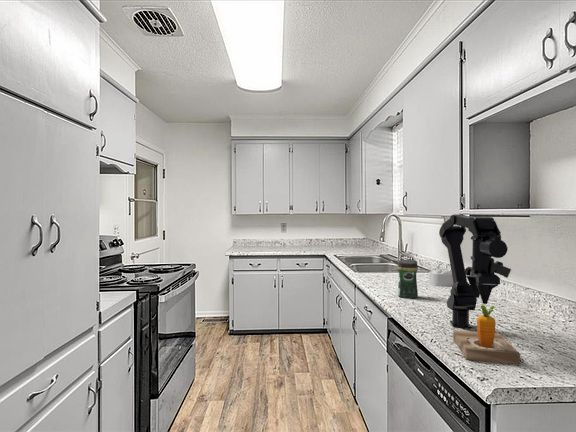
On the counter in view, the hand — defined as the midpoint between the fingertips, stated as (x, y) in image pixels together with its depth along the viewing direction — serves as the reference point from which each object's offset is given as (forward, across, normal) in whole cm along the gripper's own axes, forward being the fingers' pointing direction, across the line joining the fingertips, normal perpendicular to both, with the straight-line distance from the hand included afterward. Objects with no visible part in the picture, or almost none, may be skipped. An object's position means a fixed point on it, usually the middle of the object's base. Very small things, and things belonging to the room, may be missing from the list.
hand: (481, 300), depth 128 cm
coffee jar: (+13, +60, +18) cm, 64 cm away
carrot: (+13, -14, +2) cm, 19 cm away
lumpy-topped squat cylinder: (+13, +98, -5) cm, 99 cm away
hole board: (+13, -11, +2) cm, 17 cm away
